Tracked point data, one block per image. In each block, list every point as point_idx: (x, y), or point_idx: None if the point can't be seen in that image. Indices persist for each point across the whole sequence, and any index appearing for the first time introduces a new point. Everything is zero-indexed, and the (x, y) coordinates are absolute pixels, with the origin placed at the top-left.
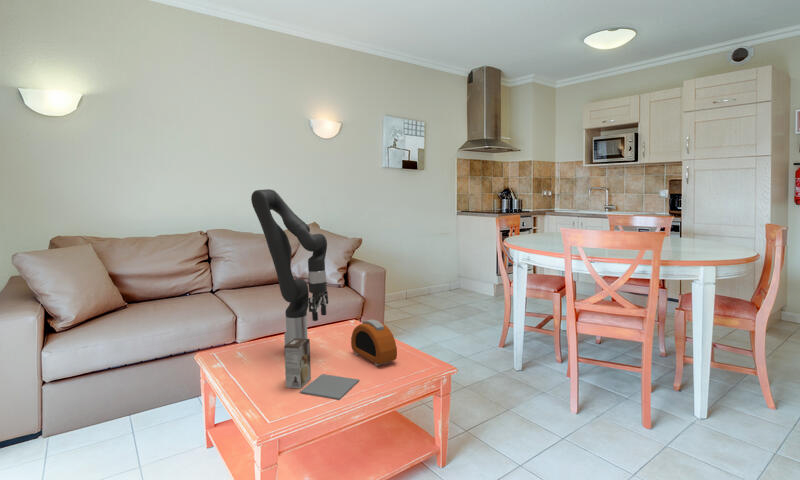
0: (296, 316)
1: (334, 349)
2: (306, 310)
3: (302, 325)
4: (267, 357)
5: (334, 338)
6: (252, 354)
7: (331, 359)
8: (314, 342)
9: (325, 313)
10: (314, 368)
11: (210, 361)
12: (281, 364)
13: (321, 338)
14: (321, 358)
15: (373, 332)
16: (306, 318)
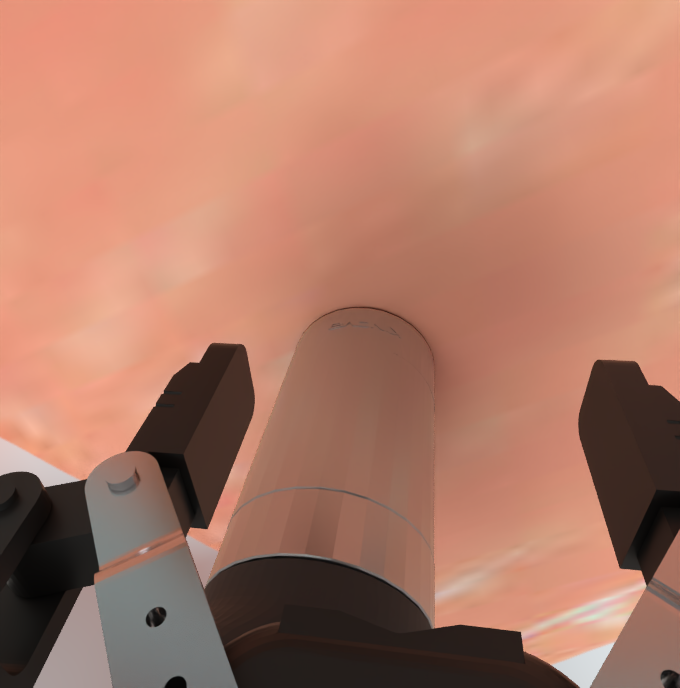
0: (419, 626)
1: (213, 135)
2: (266, 615)
3: (378, 486)
4: (476, 481)
5: (18, 237)
6: (447, 548)
7: (438, 52)
8: (157, 337)
9: (233, 361)
10: (669, 115)
11: (560, 645)
12: (584, 379)
13: (72, 323)
14: (432, 156)
15: None
16: (291, 519)
